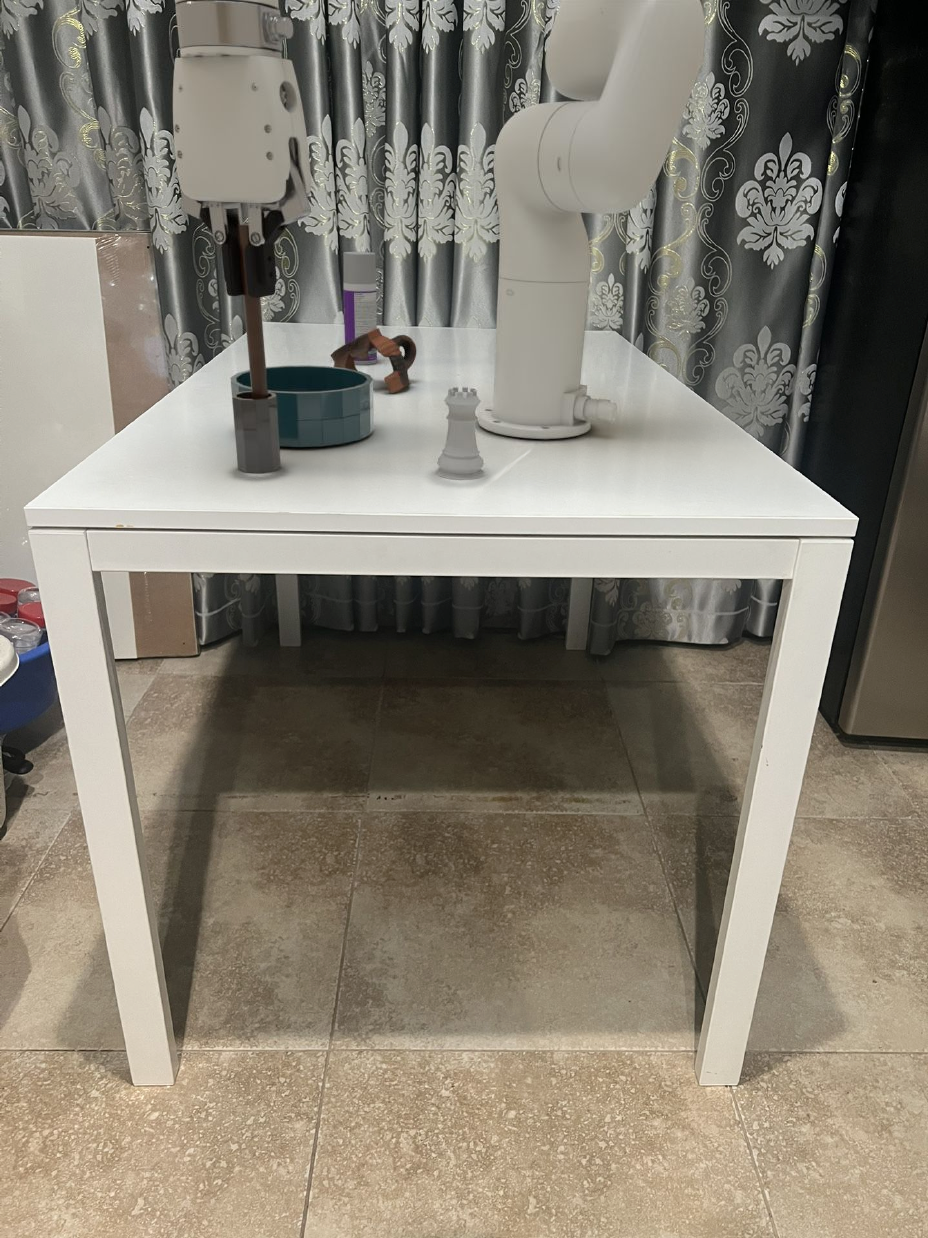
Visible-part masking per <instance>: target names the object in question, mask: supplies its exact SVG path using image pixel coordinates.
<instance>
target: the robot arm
mask: <svg viewBox="0 0 928 1238" xmlns="http://www.w3.org/2000/svg"><path fill="white" fill-rule="evenodd" d="M174 5H175V15H176V17H175V18H176V25H177V34H178V45H179V52H180V57H175V59H174V67H173V68H174V69H173V83H172V84H173V85H172V124H173V125H172V127H173V143H174V155H175V165H176V172H177V178H178V183H179V188H180V190H181V196H180V197H181V198H180V205H179V207H180V210H181V211H183V212H184V213H186V214H187V215H189V216H191V217H194V218H196V219H198V220H200V221H202V223H203V224H204V225H205V227H207V228H208V230H209V231H210V233H212V237H213V241H214V242H215V243H216V244H217V245H220V247H221V260H222V270H223V279H224V282H225V287H226V288H225V289H226V295H227V296H228V297H240V296H243V287H242V275H241V264H240V253H239V241H238V230H237V225H240V224H244V220H243V211H242V204H243V203H244V204H245V203H246V204H247V222H248V224H249V240H250V244H251V245H250V246H245V249H244V255H245V266H246V278H247V289H248V295H249V296H250V297H251V298H260V299H261V298H264V297H270V296H274V295H275V294H276V284H277V268H276V267H277V265H276V254H275V245H277V244H279V242H280V241H281V235H282V234H283V233H284V231H285V230H286V229H287V228H288V226H289V225H290V224H292V223H294V222H297V221H300V220H301V219H304V218H306V217H309V216H310V215H311V213H312V209H311V205H310V201H309V198H308V197H309V196H310V194H311V190H312V177H311V176H312V175H311V174H312V173H311V163H310V153H309V143H308V136H307V129H306V128H307V126H306V122H305V116H304V115H305V114H304V109H303V102H302V98H301V93H300V88H299V84H298V79H297V75H296V71H295V68H294V65H293V60H291V59H287V58H283V57H282V51H283V49H284V48H283V41H284V40H287V39H289V40H290V39H292V38H293V36H294V24H293V21H292V19H291V18H290V17H288V16H284V17H283V16H282V15H281V10H280V7H279V0H174ZM705 38H706V21H705V14H704V9H703V6H702V2H701V0H561V2H560V5H559V8H558V10H557V13H556V16H555V19H554V21H553V25H552V28H551V31H550V34H549V37H548V40H547V44H546V49H545V50H546V51H545V58H544V61H545V62H544V63H545V72H546V75H547V78H548V81H549V83H550V85H551V86H552V87H553V88H554V89H555V90H556V91H557V93H559V94H560V95H562V96H564V97H566V98H568V99H571V100H573V101H570V100H569V101H553V102H543V103H537V104H533V105H531V106H527V107H525V108H523V109H521V110H519V111H517V112H516V113H515V114H513V115H512V116H510V118H509V119H508V120H507V121H506V123H505V124H504V125H503V127H502V128H501V129H500V132H499V135H498V136H497V138H496V142H495V145H494V149H493V162H492V163H493V179H494V186H495V194H496V201H497V209H498V222H499V226H498V227H499V250H498V251H499V253H498V255H499V257H498V258H499V259H498V279H497V280H498V281H497V302H496V303H497V306H496V325H495V351H494V372H493V390H492V391H493V394H492V406H488V407H485V408H483V409H481V410H480V411H479V412H478V416H477V418H478V419H477V423H478V425H479V426H480V427H481V428H483V429H484V430H486V431H489V432H491V433H495V434H499V435H502V436H506V437H514V438H521V439H522V438H523V439H534V440H535V439H536V440H540V439H541V440H553V439H564V438H565V439H566V438H571V437H577V436H580V435H584V434H586V433H587V432H589V431H590V430H591V425H592V419H597V420H600V421H609V422H614V421H615V420H616V416H617V411H618V405H617V402H612V399H604V398H591V395H588V385H587V384H581V381H582V380H581V379H582V368H583V356H584V344H585V334H586V333H585V331H586V322H587V321H586V320H587V310H588V309H587V308H588V295H589V285H590V275H591V264H592V263H591V261H592V259H591V247H590V241H589V236H588V233H587V229H586V226H585V222H584V219H583V216H582V213H585V214H598V215H600V214H603V215H613V214H614V215H615V214H621V213H625V212H628V211H630V210H632V209H634V208H635V207H637V206H638V205H640V204H641V203H642V202H643V200H644V199H645V198H646V197H647V196H648V194H649V193H650V192H651V190H652V188H653V187H654V185H655V183H656V181H657V179H658V177H659V175H660V173H661V170H662V168H663V165H664V164H665V163H664V162H665V160H666V158H667V156H668V153H669V151H670V148H671V145H672V143H673V140H674V139H675V135H676V133H677V130H678V127H679V126H680V125H679V124H680V122H681V119H682V117H683V115H684V112H685V109H686V107H687V104H688V102H689V99H690V96H691V94H692V91H693V89H694V86H695V83H696V81H697V78H698V75H699V72H700V68H701V65H702V62H703V58H704V52H705V40H706V39H705ZM280 203H284V204H283V205H281V206H280Z"/></svg>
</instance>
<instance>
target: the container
mask: <svg viewBox="0 0 928 1238" xmlns="http://www.w3.org/2000/svg"><path fill="white" fill-rule="evenodd" d="M376 267H377V266H376V253H375V252H369V251H344V252H343V321H344V322H343V323H344V325H343V327H344V345H345V344H347V343H348V342H350V341H352V340H354V339H355V338H357V337H359V336H361V335H363V334H365V333H367V332H369V331H371V330H373V329H377V328H378V319H377V315H378V314H377V312H378V311H377V302H378V301H377V272H376V271H377V269H376ZM368 355H369V358H370V359H369V360H360V359H355V360H354V363H355V365H358V366H360V365H361V366H365V365H375V364H377V363H378V351H377V349H376V348H373V349H372V350H370V351H369V352H368Z"/></svg>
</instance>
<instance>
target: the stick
mask: <svg viewBox="0 0 928 1238" xmlns="http://www.w3.org/2000/svg"><path fill="white" fill-rule="evenodd" d="M237 230H238V241H239V253H240V264H241V275H242V287H243V295H242V297H243V307H244V308H243V309H244V320H245V331H246V342H247V354H248V366H249V370H250V378H251V389H252V399H264V398H268V387H267V374H266V367H267V364H266V363H267V362H266V352H265V351H266V349H265V339H264V326H263V313H262V302H261V301H262V300H261V299H262V298H261V297H260V298H251V297H250V296H249V295H248V289H247V278H246V266H245V255H244V249H245V246H250V245H251V244H250V240H249V224H247V223H246V224H244V223H243V224H240V225H237Z"/></svg>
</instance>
